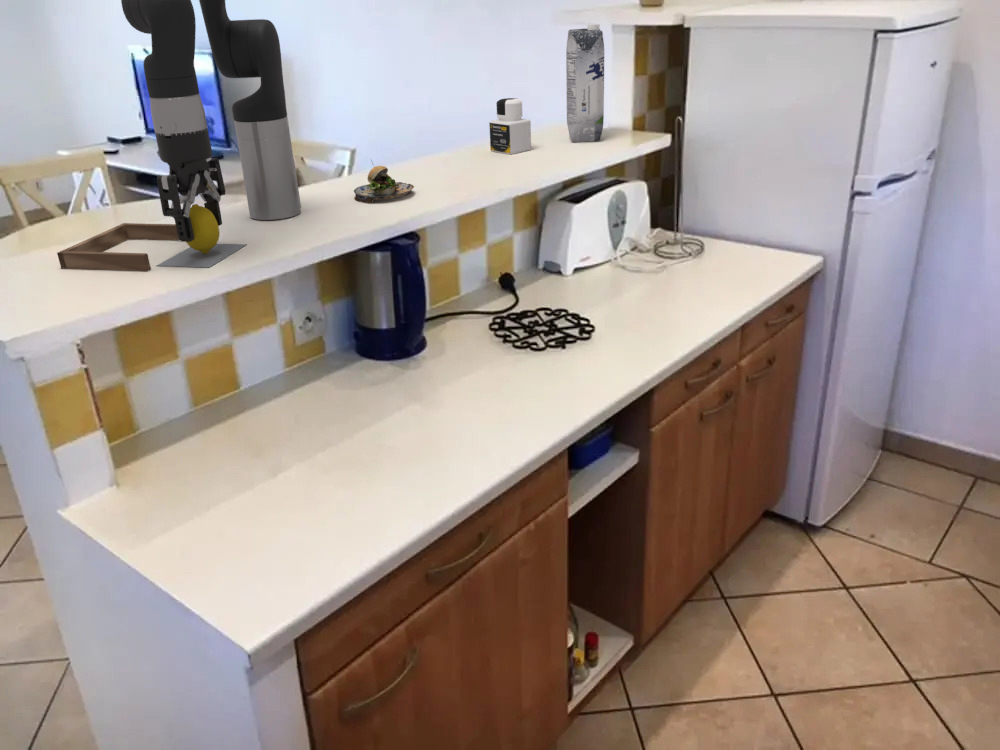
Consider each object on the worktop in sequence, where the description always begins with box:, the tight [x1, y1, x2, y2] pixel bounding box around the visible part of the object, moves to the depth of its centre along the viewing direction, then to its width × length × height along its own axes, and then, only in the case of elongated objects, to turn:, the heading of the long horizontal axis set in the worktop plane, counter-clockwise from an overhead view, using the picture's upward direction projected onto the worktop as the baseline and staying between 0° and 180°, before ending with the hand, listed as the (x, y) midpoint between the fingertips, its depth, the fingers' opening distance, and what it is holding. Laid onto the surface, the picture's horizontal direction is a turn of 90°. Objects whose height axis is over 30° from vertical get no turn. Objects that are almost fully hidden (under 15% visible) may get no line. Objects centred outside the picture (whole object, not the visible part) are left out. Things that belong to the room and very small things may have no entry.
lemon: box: [185, 203, 220, 254], centre depth 133 cm, size 6×6×8 cm
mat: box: [155, 242, 247, 269], centre depth 135 cm, size 12×9×1 cm
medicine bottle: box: [488, 97, 532, 155], centre depth 201 cm, size 7×7×12 cm
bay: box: [56, 222, 180, 272], centre depth 137 cm, size 17×15×2 cm
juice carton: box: [565, 23, 605, 143], centre depth 208 cm, size 9×10×27 cm
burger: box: [353, 159, 415, 205], centre depth 165 cm, size 12×12×8 cm
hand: (201, 233), depth 133 cm, fingers open, 8 cm apart
